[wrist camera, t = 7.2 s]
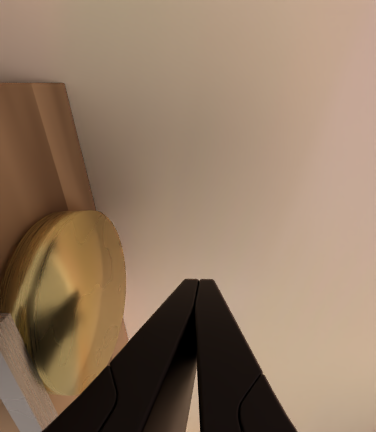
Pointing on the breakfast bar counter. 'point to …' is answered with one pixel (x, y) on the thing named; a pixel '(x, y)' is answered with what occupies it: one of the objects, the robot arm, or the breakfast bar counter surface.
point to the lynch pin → (59, 312)
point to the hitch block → (39, 178)
